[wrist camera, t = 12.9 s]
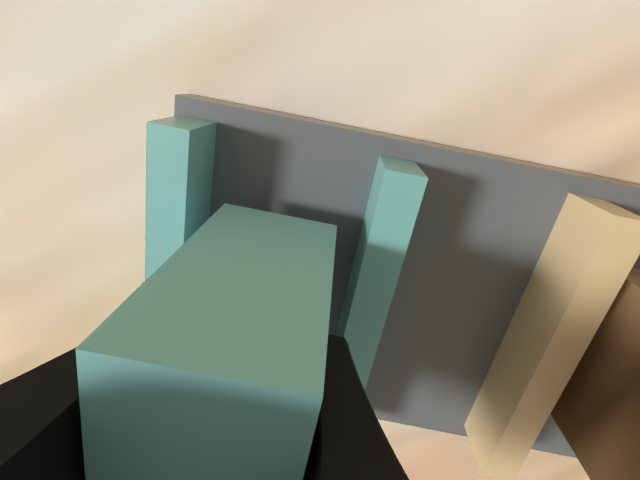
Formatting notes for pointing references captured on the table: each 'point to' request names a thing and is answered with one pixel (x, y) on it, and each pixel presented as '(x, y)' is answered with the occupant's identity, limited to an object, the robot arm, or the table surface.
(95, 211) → the table surface
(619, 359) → the walnut plug
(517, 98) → the table surface
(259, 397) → the teal plug
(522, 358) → the slot comb
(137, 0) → the table surface
